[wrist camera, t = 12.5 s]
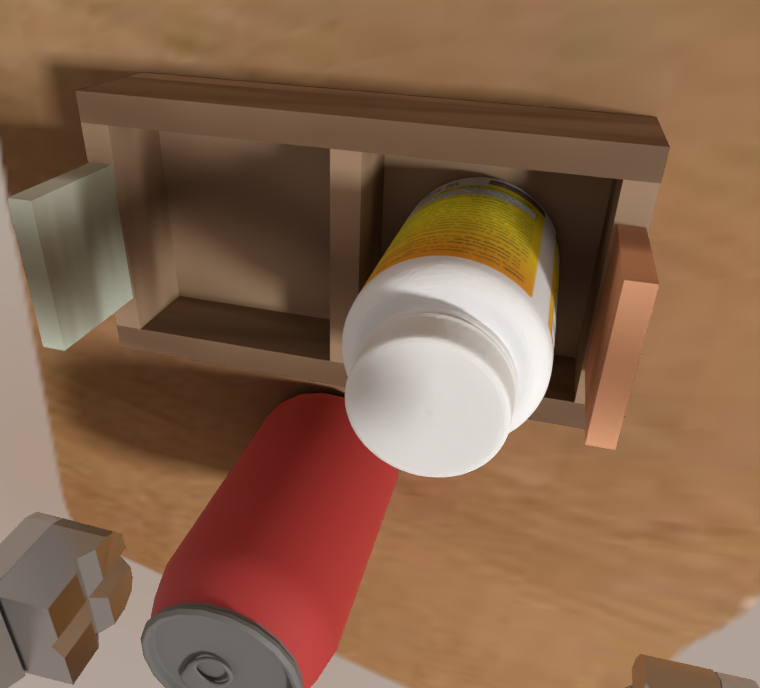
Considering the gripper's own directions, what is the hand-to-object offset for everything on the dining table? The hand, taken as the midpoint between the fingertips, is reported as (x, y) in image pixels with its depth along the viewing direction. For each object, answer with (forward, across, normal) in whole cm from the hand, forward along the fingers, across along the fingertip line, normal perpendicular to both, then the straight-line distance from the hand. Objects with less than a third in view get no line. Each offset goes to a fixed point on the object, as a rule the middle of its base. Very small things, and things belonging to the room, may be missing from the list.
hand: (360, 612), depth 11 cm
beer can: (+17, +6, +12) cm, 22 cm away
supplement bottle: (+16, 0, +1) cm, 16 cm away
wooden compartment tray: (+17, +4, +1) cm, 18 cm away
